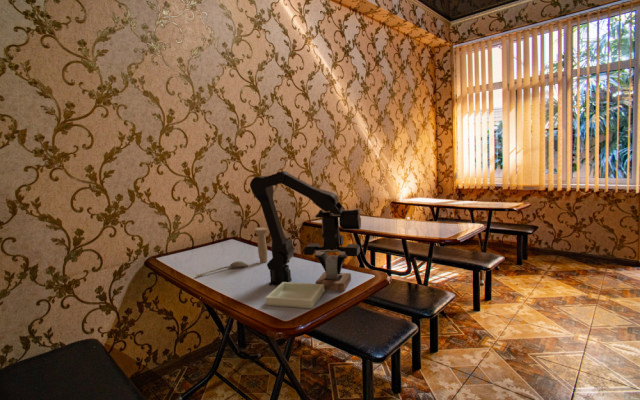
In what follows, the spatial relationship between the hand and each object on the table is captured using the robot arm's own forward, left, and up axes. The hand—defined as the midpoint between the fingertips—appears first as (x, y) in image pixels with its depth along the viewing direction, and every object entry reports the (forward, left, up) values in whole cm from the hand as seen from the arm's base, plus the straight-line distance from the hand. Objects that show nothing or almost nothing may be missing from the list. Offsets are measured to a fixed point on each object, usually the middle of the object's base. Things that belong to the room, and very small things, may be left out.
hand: (333, 273), depth 118 cm
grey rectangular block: (0, 0, -4) cm, 4 cm away
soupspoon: (-50, +8, -5) cm, 51 cm away
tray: (-9, -13, -4) cm, 16 cm away
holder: (0, 0, -4) cm, 4 cm away
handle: (-38, +21, -4) cm, 44 cm away
